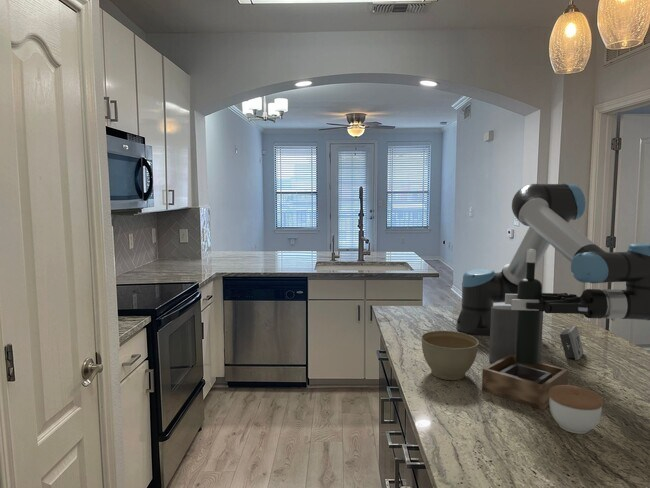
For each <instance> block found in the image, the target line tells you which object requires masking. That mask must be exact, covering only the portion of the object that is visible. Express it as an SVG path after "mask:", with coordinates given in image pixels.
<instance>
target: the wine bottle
mask: <svg viewBox="0 0 650 488" xmlns="http://www.w3.org/2000/svg"><path fill="white" fill-rule="evenodd" d="M535 262H536V250H535V249H527V271H526V278H524V279H522V280H520V281H519V283H518V298H517V299H531V300H539V303H540V298H542V293H543V284H542V283H541V281H540V280H539V279H537V278H535V276H536V275H535V272H536V269H535ZM540 319H541V311H540V309H539V311H533V310H517V321H516V345H515V360H516V361H517V362H519V363H522V364H527V365H534V364H537V363H538V361H539V340H540Z"/></svg>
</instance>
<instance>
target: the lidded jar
mask: <svg viewBox="0 0 650 488" xmlns="http://www.w3.org/2000/svg"><path fill="white" fill-rule="evenodd" d="M603 405H604V399H603V397H602V396H601V395H600V394H598V393H597V392H595V391H593V390H591V389H588V388H586V387H585V388H584V387H582V386H578V385H572V384H567V385H557V386H553V387H551V388H550V389H549V412H550V415H551V417H552V418H553V420H554V421H555V422H556V423H557V424H558V426H559V427H560V428H561V429H562V430H564V431H565V432H569V433H572V434H577V435H581V434H582V435H584V434H587V433H589V431H591V430H592V429H594V428H595V427H596V426H597V425H598V424H599V422H600V419H601V416H602V413H603V412H602V411H603Z"/></svg>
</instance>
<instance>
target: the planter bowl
mask: <svg viewBox="0 0 650 488" xmlns="http://www.w3.org/2000/svg"><path fill="white" fill-rule="evenodd" d="M420 338H421V348H422V349H421V350H422V354H423V357H424V359H425V363H426V364H427V365H428V367H429V368H430V371H431V374H432V376H434V377H436V378H438V379H441V380H446V381H447V380H448V381H459V380H462V379H464V378H465V377H466V373H467V372H468V371H469V370H470V369H471V368H472V367H473V364H474V362H475V361H476V358H477V354H478V347H479V340H478V339H477V338H476V337H474V336H472V335H471V334H468V333H465V332H461V331H459V332H458V331H452V330H432V331H428V332H424V333H422V335H421V337H420Z"/></svg>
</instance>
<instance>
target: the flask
mask: <svg viewBox="0 0 650 488" xmlns="http://www.w3.org/2000/svg"><path fill="white" fill-rule="evenodd" d="M511 306H512V304H510V305H493V307H491V327H490V336H489V355H488V357H489V358H488V360H489V362H490V363H491V364H493V363H495V362H496V361H498V360H500V359H502V358H504V357H506V356H508V355H514V356H515V345H516V321H517V310H512V309H511ZM543 321H544V311H543V312H542V311H541V319H540V340H539V361H538V362H541V363H542V361H541V359H542V343H543V341H542V340H543V327H544V326H543V323H544V322H543Z"/></svg>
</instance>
